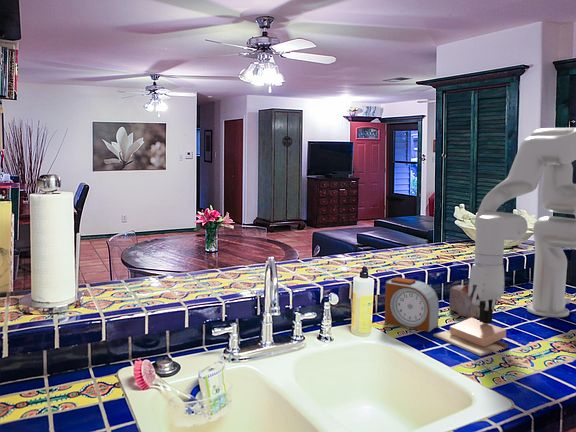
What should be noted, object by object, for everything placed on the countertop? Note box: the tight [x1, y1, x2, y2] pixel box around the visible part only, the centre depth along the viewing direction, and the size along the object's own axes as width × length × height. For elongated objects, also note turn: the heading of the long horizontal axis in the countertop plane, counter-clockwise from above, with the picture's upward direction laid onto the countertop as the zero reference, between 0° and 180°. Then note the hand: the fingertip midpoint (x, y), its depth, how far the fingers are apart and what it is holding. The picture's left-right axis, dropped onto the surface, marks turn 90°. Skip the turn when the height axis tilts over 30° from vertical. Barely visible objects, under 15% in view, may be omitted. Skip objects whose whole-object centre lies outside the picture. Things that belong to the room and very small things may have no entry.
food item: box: [448, 284, 480, 319], centre depth 176 cm, size 14×8×10 cm, turn 20°
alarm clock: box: [384, 276, 440, 333], centre depth 167 cm, size 15×8×14 cm, turn 55°
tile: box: [449, 318, 507, 347], centre depth 154 cm, size 2×12×9 cm
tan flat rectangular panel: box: [432, 329, 505, 357], centre depth 152 cm, size 9×17×1 cm, turn 30°
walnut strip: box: [494, 340, 509, 350], centre depth 155 cm, size 1×17×1 cm, turn 30°
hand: (485, 322), depth 155 cm, fingers closed
